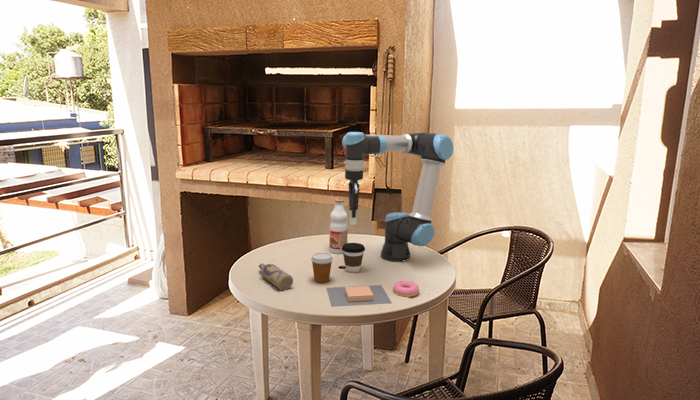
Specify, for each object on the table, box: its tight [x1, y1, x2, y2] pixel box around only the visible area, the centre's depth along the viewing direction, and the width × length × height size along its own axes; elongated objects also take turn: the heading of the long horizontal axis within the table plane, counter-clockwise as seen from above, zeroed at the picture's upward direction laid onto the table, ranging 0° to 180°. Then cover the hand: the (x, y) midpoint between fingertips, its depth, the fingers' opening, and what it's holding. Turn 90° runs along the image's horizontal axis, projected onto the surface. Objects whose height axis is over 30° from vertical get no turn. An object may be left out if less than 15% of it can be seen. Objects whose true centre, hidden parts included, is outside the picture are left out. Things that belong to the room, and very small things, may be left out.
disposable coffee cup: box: [310, 252, 334, 284], centre depth 196 cm, size 10×10×12 cm
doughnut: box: [392, 280, 420, 298], centre depth 187 cm, size 11×11×4 cm
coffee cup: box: [342, 242, 366, 274], centre depth 210 cm, size 11×11×12 cm
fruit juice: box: [329, 198, 349, 255], centre depth 235 cm, size 9×9×28 cm
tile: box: [344, 285, 373, 302], centre depth 181 cm, size 10×2×9 cm
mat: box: [325, 284, 393, 308], centre depth 183 cm, size 24×18×1 cm
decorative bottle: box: [258, 263, 294, 292], centre depth 198 cm, size 26×8×7 cm, turn 35°
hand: (353, 224), depth 192 cm, fingers closed
